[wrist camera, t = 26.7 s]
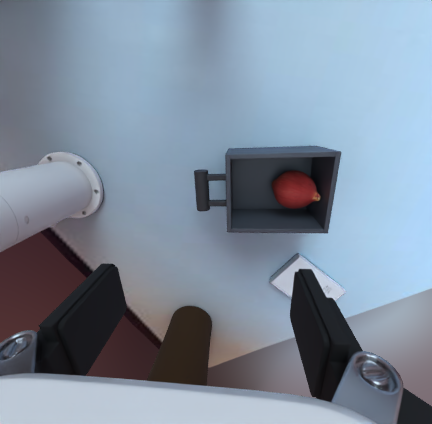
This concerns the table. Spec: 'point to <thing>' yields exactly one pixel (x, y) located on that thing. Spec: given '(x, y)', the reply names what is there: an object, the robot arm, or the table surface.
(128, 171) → the table surface
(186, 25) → the table surface
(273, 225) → the grey drawer with handle
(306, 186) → the onion
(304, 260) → the hard drive
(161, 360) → the olive oil
